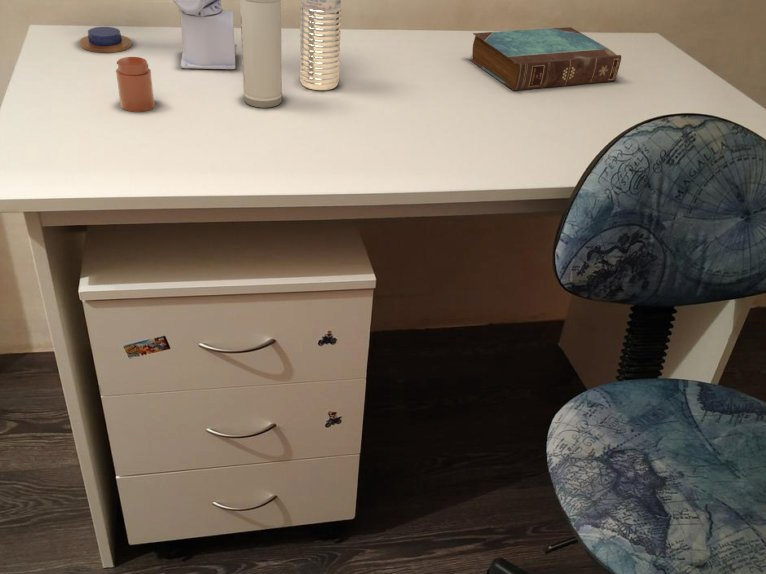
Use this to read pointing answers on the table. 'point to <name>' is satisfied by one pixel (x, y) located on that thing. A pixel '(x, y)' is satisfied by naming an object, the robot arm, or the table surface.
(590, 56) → the book
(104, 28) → the lid
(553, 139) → the table surface
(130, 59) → the jar
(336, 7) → the water bottle
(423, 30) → the table surface
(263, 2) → the travel mug
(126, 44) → the coaster
